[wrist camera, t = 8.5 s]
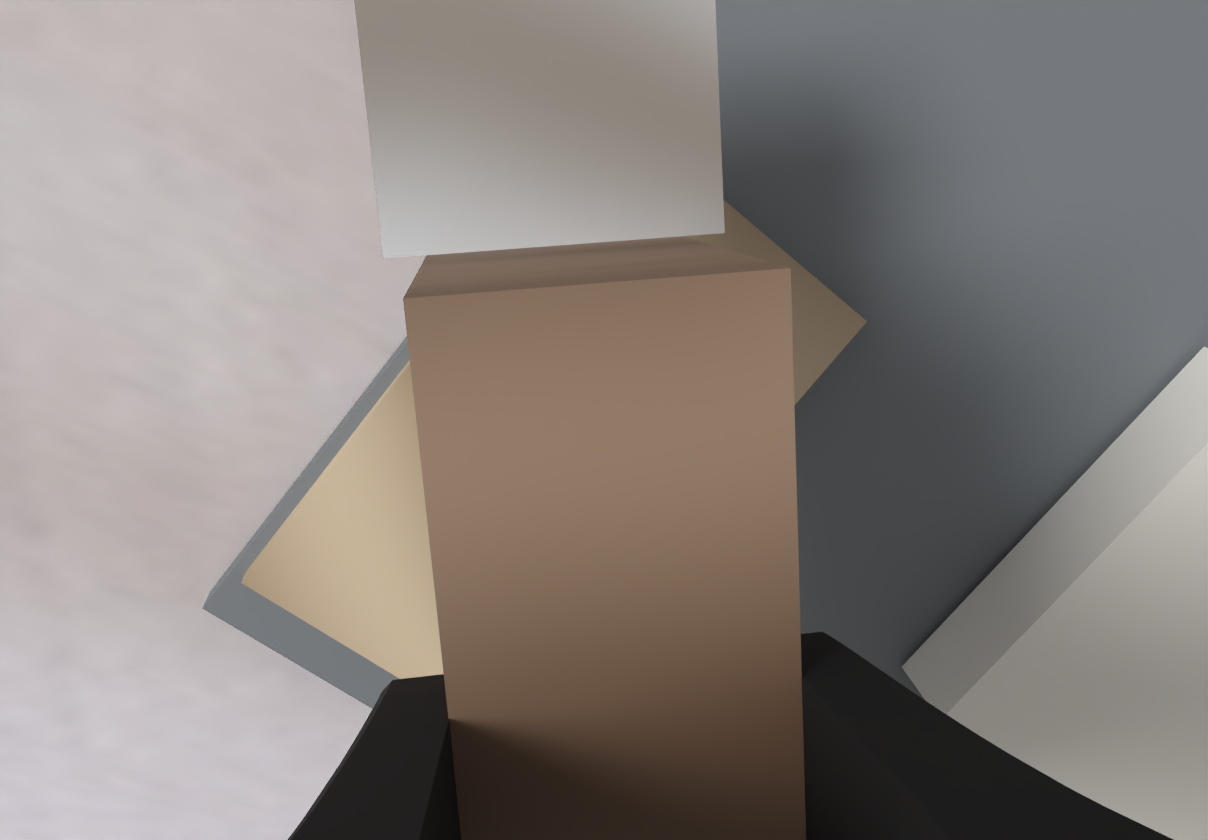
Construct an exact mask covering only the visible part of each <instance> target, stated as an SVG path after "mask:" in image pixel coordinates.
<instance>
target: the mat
mask: <svg viewBox="0 0 1208 840" xmlns="http://www.w3.org/2000/svg"><path fill="white" fill-rule="evenodd" d="M715 4H716V28H717V53H718V78H719V103H720V128H721V152H722V177H723V200H725V201H726V202H727V203H728V204H729V205H730V206H732V207H733V208H734V209H735V210H736V211H738V212H739V213H740V214H741V215H742V216H743V217H745V218H746V219H747V220H748V221H749V222H751V223H752V224H753V225H754V226H755V227H756V228H758V229H759V230H760V231H761V232H762V233H763V234H765V235H766V236H767V237H768V238H769V239H771V240H772V241H773V242H774V243H775V244H776V245H778V246H779V247H780V248H781V249H782V250H784V251H785V252H786V253H787V254H788V255H789V256H791V257H792V258H793V259H794V260H795V261H796V262H798V263H799V264H800V265H801V266H802V267H804V268H805V269H806V270H807V271H808V272H809V273H811V274H812V275H813V276H814V277H815V278H817V279H818V280H819V281H820V282H821V283H822V284H824V285H825V286H826V287H827V288H828V289H829V290H831V291H832V292H833V293H834V294H835V295H837V296H838V297H839V298H840V299H841V300H842V301H844V302H845V303H846V304H847V305H848V306H850V307H851V308H852V309H853V310H854V311H855V312H857V313H858V314H859V315H860V316H861V317H862V318H864V319H865V320H866V321H867V322H866V323H865V324H864V326H863V327H862V328H861V329H860V330H859V331H858V332H857V334H856V335H855V336H854V337H853V338H852V339H851V341H850V342H849V343H848V344H847V345H846V346H845V348H844V349H843V350H842V351H841V352H840V353H839V355H838V356H837V357H836V358H835V359H834V360H833V361H832V363H831V364H830V365H829V366H828V367H827V368H826V370H825V371H824V372H823V373H822V374H821V375H820V377H819V378H818V379H817V380H816V381H815V382H814V383H813V385H812V386H811V387H810V388H809V389H808V390H807V392H806V393H805V394H804V395H803V396H802V397H801V399H800V400H799V401H798V402H797V403H796V404H795V406H794V408H795V445H796V482H797V518H798V555H799V592H800V629H801V634H805V633H814V632H824V633H826V634H828V635H829V636H831V637H832V638H834V639H836V640H837V641H839V642H840V643H842V644H843V645H845V646H846V647H848V648H849V649H851V650H852V651H854V652H855V653H857V654H858V655H860V656H861V657H862V658H864V659H865V660H867V661H868V662H870V663H871V664H873V665H874V666H876V667H877V668H878V669H880V670H881V671H883V672H884V673H886V674H887V675H889V676H890V677H892V678H893V679H894V680H896V681H897V682H899V683H900V684H902V685H903V686H905V687H906V688H908V689H909V690H911V691H912V692H913V693H915V694H916V695H918V696H919V697H921V698H922V699H924V698H923V696H922V695H921V693H920V692H919V691H918V689H917V688H916V686H915V685H914V684H913V682H912V681H911V679H910V678H909V677H908V675H907V674H906V672H905V671H904V670H903V668H902V666H903V665H904V664H905V663H906V661H907V660H908V659H909V658H910V657H911V656H912V655H913V654H914V653H915V652H916V651H917V650H918V649H919V648H920V647H921V646H922V645H923V643H924V642H925V641H926V640H927V639H928V638H929V637H930V636H931V635H932V634H933V633H934V632H935V631H936V630H937V629H938V628H939V627H940V625H941V624H942V623H943V622H944V621H945V620H946V619H947V618H948V617H949V616H950V615H951V614H952V613H953V612H954V611H955V610H956V609H957V607H958V606H959V605H960V604H961V603H962V602H963V601H964V600H965V599H966V598H967V597H968V596H969V595H970V594H971V593H972V592H973V591H974V589H975V588H976V587H977V586H978V585H979V584H980V583H981V582H982V581H983V580H984V579H985V578H986V577H987V576H988V575H989V574H990V573H991V571H992V570H993V569H994V568H995V567H996V566H997V565H998V564H999V563H1000V562H1001V561H1002V560H1003V559H1004V558H1005V557H1006V556H1007V555H1008V553H1009V552H1010V551H1011V550H1012V549H1013V548H1014V547H1015V546H1016V545H1017V544H1018V543H1019V542H1020V541H1021V540H1022V539H1023V538H1024V537H1025V535H1026V534H1027V533H1028V532H1029V531H1030V530H1031V529H1032V528H1033V527H1034V526H1035V525H1036V524H1037V523H1038V522H1039V521H1040V520H1041V519H1042V517H1043V516H1044V515H1045V514H1046V513H1047V512H1048V511H1049V510H1050V509H1051V508H1052V507H1053V506H1054V505H1055V504H1056V503H1057V502H1058V501H1059V499H1060V498H1061V497H1062V496H1063V495H1064V494H1065V493H1066V492H1067V491H1068V490H1069V489H1070V488H1071V487H1072V486H1073V485H1074V484H1075V483H1076V481H1077V480H1078V479H1079V478H1080V477H1081V476H1082V475H1083V474H1084V473H1085V472H1086V471H1087V470H1088V469H1089V468H1090V467H1091V466H1092V465H1093V463H1094V462H1095V461H1096V460H1097V459H1098V458H1099V457H1100V456H1101V455H1102V454H1103V453H1104V452H1105V451H1106V450H1107V449H1108V448H1109V447H1110V445H1111V444H1112V443H1113V442H1114V441H1115V440H1116V439H1117V438H1118V437H1119V436H1120V435H1121V434H1122V433H1123V432H1124V431H1125V430H1126V429H1127V427H1128V426H1129V425H1130V424H1131V423H1132V422H1133V421H1134V420H1135V419H1136V418H1137V417H1138V416H1139V415H1140V414H1141V413H1142V412H1143V411H1144V409H1145V408H1146V407H1147V406H1148V405H1149V404H1150V403H1151V402H1152V401H1153V400H1154V399H1155V398H1156V397H1157V396H1158V395H1159V394H1160V393H1161V391H1162V390H1163V389H1164V388H1165V387H1166V386H1167V385H1168V384H1169V383H1170V382H1171V381H1172V380H1173V379H1174V378H1175V377H1176V376H1177V375H1178V373H1179V372H1180V371H1181V370H1182V369H1183V368H1184V367H1185V366H1186V365H1187V364H1188V363H1189V362H1190V361H1191V360H1192V359H1193V358H1194V357H1195V355H1196V354H1197V353H1198V352H1199V351H1200V350H1201V349H1202V348H1203V347H1206V348H1208V0H715ZM409 360H410V357H409V347H408V338H407V337H406V338H405V340H404V341H403V342H402V344H401V345H400V346H399V347H398V349H397V350H396V351H395V353H394V354H393V355H392V357H391V358H390V359H389V360H388V362H387V363H386V364H385V366H384V367H383V368H382V370H381V371H380V372H379V373H378V375H377V376H376V377H375V379H374V380H373V381H372V383H371V384H370V385H369V386H368V388H367V389H366V390H365V392H364V393H363V394H362V396H361V397H360V398H359V399H358V401H357V402H356V403H355V405H354V406H353V407H352V408H351V410H350V411H349V412H348V414H347V415H346V416H345V418H344V419H343V420H342V421H341V423H340V424H339V425H338V427H337V428H336V429H335V431H334V432H333V433H332V434H331V436H330V437H329V438H328V440H327V441H326V442H325V444H324V445H323V446H322V447H321V449H320V450H319V451H318V453H317V454H316V455H315V457H314V458H313V459H312V460H311V462H310V463H309V464H308V466H307V467H306V468H305V470H304V471H303V472H302V473H301V475H300V476H299V477H298V479H297V480H296V481H295V483H294V484H293V485H292V486H291V488H290V489H289V490H288V492H287V493H286V494H285V496H284V497H283V498H282V499H281V501H280V502H279V503H278V505H277V506H276V507H275V508H274V510H273V511H272V512H271V514H270V515H269V516H268V518H267V519H266V520H265V521H264V523H263V524H262V525H261V527H260V528H259V529H258V531H257V532H256V533H255V534H254V536H253V537H252V538H251V540H250V541H249V542H248V544H247V545H246V546H245V547H244V549H243V550H242V551H241V553H240V554H239V555H238V557H237V558H236V559H235V560H234V562H233V563H232V564H231V566H230V567H229V568H228V570H227V571H226V572H225V573H224V575H223V576H222V577H221V579H220V580H219V581H218V583H217V584H216V585H215V586H214V588H213V589H212V590H211V592H210V593H209V596H208V598H207V600H206V602H205V604H204V606H203V609H205V610H206V611H208V612H210V613H211V614H213V615H215V616H216V617H218V618H220V619H222V620H223V621H225V622H227V623H228V624H230V625H232V626H233V627H235V628H237V629H238V630H240V631H242V632H244V633H245V634H247V635H249V636H250V637H252V638H254V639H255V640H257V641H259V642H261V643H262V644H264V645H266V646H267V647H269V648H271V649H272V650H274V651H276V652H277V653H279V654H281V655H283V656H284V657H286V658H288V659H289V660H291V661H293V662H294V663H296V664H298V665H300V666H301V667H303V668H305V669H306V670H308V671H310V672H311V673H313V674H315V675H316V676H318V677H320V678H322V679H323V680H325V681H327V682H328V683H330V684H332V685H333V686H335V687H337V688H339V689H340V690H342V691H344V692H345V693H347V694H349V695H350V696H352V697H354V698H355V699H357V700H359V701H361V702H362V703H364V704H366V705H367V706H369V707H371V708H372V709H373V707H374V706H375V704H376V702H377V700H378V698H379V696H380V694H381V692H382V691H383V690H384V689H385V688H386V687H387V685H388V684H389V683H390V682H391V681H392V680H396V679H399V678H398V677H396V676H394V675H393V674H391V673H389V672H388V671H386V670H384V669H383V668H381V667H379V666H378V665H376V664H374V663H373V662H371V661H370V660H368V659H366V658H365V657H363V656H361V655H360V654H358V653H356V652H355V651H353V650H351V649H350V648H348V647H346V646H345V645H343V644H341V643H340V642H338V641H336V640H335V639H333V638H331V637H330V636H328V635H327V634H325V633H323V632H322V631H320V630H318V629H317V628H315V627H313V626H312V625H310V624H308V623H307V622H305V621H303V620H302V619H300V618H298V617H297V616H295V615H293V614H292V613H290V612H288V611H287V610H285V609H284V608H282V607H280V606H279V605H277V604H275V603H274V602H272V601H270V600H269V599H267V598H265V597H264V596H262V595H260V594H259V593H257V592H255V591H254V590H252V589H250V588H249V587H247V586H245V585H244V584H242V583H241V581H242V579H243V576H244V574H245V572H246V571H247V569H248V568H249V567H250V565H251V564H252V563H253V562H254V560H255V559H256V558H257V556H258V555H259V554H260V552H261V551H262V550H263V549H264V547H265V546H266V545H267V543H268V542H269V541H270V540H271V538H272V537H273V536H274V534H275V533H276V532H277V531H278V529H279V528H280V527H281V525H282V524H283V523H284V521H285V520H286V519H287V518H288V516H289V515H290V514H291V512H292V511H293V510H294V509H295V507H296V506H297V505H298V503H299V502H300V501H301V500H302V498H303V497H304V496H305V494H306V493H307V492H308V490H309V489H310V488H311V487H312V485H313V484H314V483H315V481H316V480H317V479H318V478H319V476H320V475H321V474H322V472H323V471H324V470H325V469H326V467H327V466H328V465H329V463H330V462H331V461H332V459H333V458H334V457H335V456H336V454H337V453H338V452H339V450H340V449H341V448H342V447H343V445H344V444H345V443H346V441H347V440H348V439H349V438H350V436H351V435H352V434H353V432H354V431H355V430H356V428H357V427H358V426H359V425H360V423H361V422H362V421H363V419H364V418H365V417H366V416H367V414H368V413H369V412H370V410H371V409H372V408H373V407H374V405H375V404H376V403H377V401H378V400H379V399H380V397H381V396H382V395H383V394H384V392H385V391H386V390H387V388H388V387H389V386H390V385H391V383H392V382H393V381H394V379H395V378H396V377H397V376H398V374H399V373H400V372H401V370H402V369H403V368H404V366H405V365H406V364H407V363H408V361H409ZM924 700H925V699H924Z"/></svg>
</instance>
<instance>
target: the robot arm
mask: <svg viewBox="0 0 1208 840" xmlns="http://www.w3.org/2000/svg"><path fill="white" fill-rule="evenodd" d="M801 666H802V678H801V682H802V709H803V740H804V777H805V814H806V840H1173V839H1171V838H1169V837H1167V836H1165V835H1163V834H1161V833H1159V832H1157V831H1155V830H1153V829H1151V828H1148V827H1146V826H1144V825H1142V824H1140V823H1138V822H1136V821H1134V820H1132V819H1130V818H1128V817H1126V816H1123V815H1121V814H1119V813H1117V812H1115V811H1113V810H1111V809H1109V808H1107V807H1105V806H1103V805H1101V804H1099V803H1097V802H1095V801H1093V800H1091V799H1089V798H1087V797H1085V796H1084V795H1082V794H1080V793H1078V792H1076V791H1074V790H1072V789H1070V788H1068V787H1067V786H1065V785H1063V784H1061V783H1059V782H1058V781H1056V780H1054V779H1053V778H1051V777H1049V776H1047V775H1046V774H1044V773H1042V772H1040V771H1039V770H1037V769H1035V768H1033V767H1032V766H1030V765H1028V764H1026V763H1025V762H1023V761H1021V760H1019V759H1018V758H1016V757H1014V756H1012V755H1011V754H1009V753H1007V752H1006V751H1004V750H1002V749H1001V748H999V747H997V746H996V745H994V744H992V743H991V742H989V741H988V740H986V739H984V738H983V737H981V736H979V735H978V734H976V733H975V732H973V731H971V730H970V729H968V728H967V727H965V726H964V725H962V724H960V723H959V722H957V721H956V720H954V719H953V718H951V717H950V716H948V715H947V714H945V713H944V712H942V711H940V710H939V709H937V708H936V707H934V706H933V705H931V704H930V703H928V702H927V701H925V700H924V699H922V698H921V697H919V696H918V695H916V694H915V693H913V692H912V691H911V690H909V689H908V688H906V687H905V686H903V685H902V684H900V683H899V682H897V681H896V680H894V679H893V678H892V677H890V676H889V675H887V674H886V673H884V672H883V671H881V670H880V669H878V668H877V667H876V666H874V665H873V664H871V663H870V662H868V661H867V660H865V659H864V658H862V657H861V656H860V655H858V654H857V653H855V652H854V651H852V650H851V649H849V648H848V647H846V646H845V645H843V644H842V643H840V642H839V641H837V640H836V639H834V638H832V637H831V636H829V635H828V634H826V633H824V632H814V633H805V634H801ZM288 840H461V831H460V822H459V812H458V803H457V793H456V783H455V773H454V762H453V752H452V742H451V731H450V721H449V719H448V710H447V701H446V691H445V682H444V674H441V675H432V676H423V677H414V678H405V679H396V680H392V681H391V682H390V683H389V684H388V685H387V687H386V688H385V689H384V690H383V691H382V692H381V694H380V696H379V698H378V700H377V702H376V704H375V706H374V707H373V709H372V711H371V713H370V715H369V717H368V718H367V720H366V722H365V724H364V725H363V727H362V729H361V730H360V732H359V734H358V736H357V737H356V739H355V741H354V742H353V744H352V745H351V747H350V749H349V750H348V752H347V754H346V755H345V757H344V758H343V760H342V762H341V763H340V765H339V766H338V768H337V769H336V771H335V772H334V774H333V775H332V777H331V778H330V780H329V781H328V783H327V784H326V786H325V787H324V789H323V790H322V792H321V793H320V795H319V796H318V798H317V799H316V801H315V802H314V804H313V805H312V807H311V808H310V810H309V811H308V813H307V814H306V816H305V817H304V818H303V820H302V821H301V823H300V824H299V825H298V827H297V828H296V830H295V831H294V832H293V833H292V835H291V836H290V837H289V839H288Z"/></svg>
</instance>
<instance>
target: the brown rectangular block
mask: <svg viewBox="0 0 1208 840" xmlns="http://www.w3.org/2000/svg"><path fill="white" fill-rule="evenodd" d="M354 1H355V10H356V19H357V28H358V37H359V46H360V55H361V64H362V73H363V82H364V91H365V100H366V109H367V118H368V127H369V136H370V145H371V155H372V164H373V173H374V182H375V191H376V200H377V209H378V218H379V227H380V236H381V245H382V254H383V259H384V258H397V257H411V256H424V255H427V256H426V258H425V260H424V262H423V263H422V265H421V267H420V269H419V271H418V273H417V274H416V276H415V278H414V280H413V282H412V283H411V285H410V287H409V289H408V291H407V293H406V294H405V296H404V298H403V301H404V310H405V319H406V329H407V338H408V347H409V357H410V366H411V375H412V384H413V394H414V403H415V412H416V422H417V431H418V440H419V450H420V459H421V468H422V477H423V487H424V496H425V505H426V515H427V524H428V533H429V543H430V552H431V561H432V570H433V580H434V589H435V598H436V608H437V617H438V626H439V636H440V645H441V654H442V663H443V673H444V682H445V691H446V701H447V710H448V719H449V721H450V731H451V742H452V752H453V762H454V773H455V783H456V793H457V803H458V812H459V822H460V831H461V840H806V814H805V777H804V740H803V709H802V682H801V678H802V666H801V629H800V592H799V555H798V518H797V482H796V445H795V408H794V371H793V334H792V297H791V268H789V267H785V266H782V265H778V264H775V263H772V262H768V261H765V260H762V259H758V258H755V257H752V256H748V255H745V254H742V253H738V252H735V251H731V250H728V249H725V248H721V247H718V246H715V245H711V244H708V243H705V242H701V241H698V240H694V239H691V238H688V237H684V236H692V235H705V234H719V233H725V227H724V202H723V177H722V152H721V128H720V103H719V78H718V53H717V28H716V4H715V0H354Z"/></svg>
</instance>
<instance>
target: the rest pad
mask: <svg viewBox="0 0 1208 840" xmlns="http://www.w3.org/2000/svg"><path fill="white" fill-rule="evenodd" d="M723 202H724V227H725V233H719V234H705V235H692V236H684V237H688V238H691V239H694V240H698V241H701V242H705V243H708V244H711V245H715V246H718V247H721V248H725V249H728V250H731V251H735V252H738V253H742V254H745V255H748V256H752V257H755V258H758V259H762V260H765V261H768V262H772V263H775V264H778V265H782V266H785V267H789V268H791V297H792V334H793V371H794V406H795V404H796V403H797V402H798V401H799V400H800V399H801V397H802V396H803V395H804V394H805V393H806V392H807V390H808V389H809V388H810V387H811V386H812V385H813V383H814V382H815V381H816V380H817V379H818V378H819V377H820V375H821V374H822V373H823V372H824V371H825V370H826V368H827V367H828V366H829V365H830V364H831V363H832V361H833V360H834V359H835V358H836V357H837V356H838V355H839V353H840V352H841V351H842V350H843V349H844V348H845V346H846V345H847V344H848V343H849V342H850V341H851V339H852V338H853V337H854V336H855V335H856V334H857V332H858V331H859V330H860V329H861V328H862V327H863V326H864V324H865V323H866V322H867V321H866V320H865V319H864V318H862V317H861V316H860V315H859V314H858V313H857V312H855V311H854V310H853V309H852V308H851V307H850V306H848V305H847V304H846V303H845V302H844V301H842V300H841V299H840V298H839V297H838V296H837V295H835V294H834V293H833V292H832V291H831V290H829V289H828V288H827V287H826V286H825V285H824V284H822V283H821V282H820V281H819V280H818V279H817V278H815V277H814V276H813V275H812V274H811V273H809V272H808V271H807V270H806V269H805V268H804V267H802V266H801V265H800V264H799V263H798V262H796V261H795V260H794V259H793V258H792V257H791V256H789V255H788V254H787V253H786V252H785V251H784V250H782V249H781V248H780V247H779V246H778V245H776V244H775V243H774V242H773V241H772V240H771V239H769V238H768V237H767V236H766V235H765V234H763V233H762V232H761V231H760V230H759V229H758V228H756V227H755V226H754V225H753V224H752V223H751V222H749V221H748V220H747V219H746V218H745V217H743V216H742V215H741V214H740V213H739V212H738V211H736V210H735V209H734V208H733V207H732V206H730V205H729V204H728V203H727V202H726V201H725V200H723ZM241 583H242V584H244V585H245V586H247V587H249V588H250V589H252V590H254V591H255V592H257V593H259V594H260V595H262V596H264V597H265V598H267V599H269V600H270V601H272V602H274V603H275V604H277V605H279V606H280V607H282V608H284V609H285V610H287V611H288V612H290V613H292V614H293V615H295V616H297V617H298V618H300V619H302V620H303V621H305V622H307V623H308V624H310V625H312V626H313V627H315V628H317V629H318V630H320V631H322V632H323V633H325V634H327V635H328V636H330V637H331V638H333V639H335V640H336V641H338V642H340V643H341V644H343V645H345V646H346V647H348V648H350V649H351V650H353V651H355V652H356V653H358V654H360V655H361V656H363V657H365V658H366V659H368V660H370V661H371V662H373V663H374V664H376V665H378V666H379V667H381V668H383V669H384V670H386V671H388V672H389V673H391V674H393V675H394V676H396V677H398V678H399V679H405V678H414V677H423V676H432V675H441V674H444V673H443V663H442V654H441V645H440V636H439V626H438V617H437V608H436V598H435V589H434V580H433V570H432V561H431V552H430V543H429V533H428V524H427V515H426V505H425V496H424V487H423V477H422V468H421V459H420V450H419V440H418V431H417V422H416V412H415V403H414V394H413V384H412V375H411V366H410V360H409V361H408V363H407V364H406V365H405V366H404V368H403V369H402V370H401V372H400V373H399V374H398V376H397V377H396V378H395V379H394V381H393V382H392V383H391V385H390V386H389V387H388V388H387V390H386V391H385V392H384V394H383V395H382V396H381V397H380V399H379V400H378V401H377V403H376V404H375V405H374V407H373V408H372V409H371V410H370V412H369V413H368V414H367V416H366V417H365V418H364V419H363V421H362V422H361V423H360V425H359V426H358V427H357V428H356V430H355V431H354V432H353V434H352V435H351V436H350V438H349V439H348V440H347V441H346V443H345V444H344V445H343V447H342V448H341V449H340V450H339V452H338V453H337V454H336V456H335V457H334V458H333V459H332V461H331V462H330V463H329V465H328V466H327V467H326V469H325V470H324V471H323V472H322V474H321V475H320V476H319V478H318V479H317V480H316V481H315V483H314V484H313V485H312V487H311V488H310V489H309V490H308V492H307V493H306V494H305V496H304V497H303V498H302V500H301V501H300V502H299V503H298V505H297V506H296V507H295V509H294V510H293V511H292V512H291V514H290V515H289V516H288V518H287V519H286V520H285V521H284V523H283V524H282V525H281V527H280V528H279V529H278V531H277V532H276V533H275V534H274V536H273V537H272V538H271V540H270V541H269V542H268V543H267V545H266V546H265V547H264V549H263V550H262V551H261V552H260V554H259V555H258V556H257V558H256V559H255V560H254V562H253V563H252V564H251V565H250V567H249V568H248V569H247V571H246V572H245V574H244V576H243V579H242V581H241Z"/></svg>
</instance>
